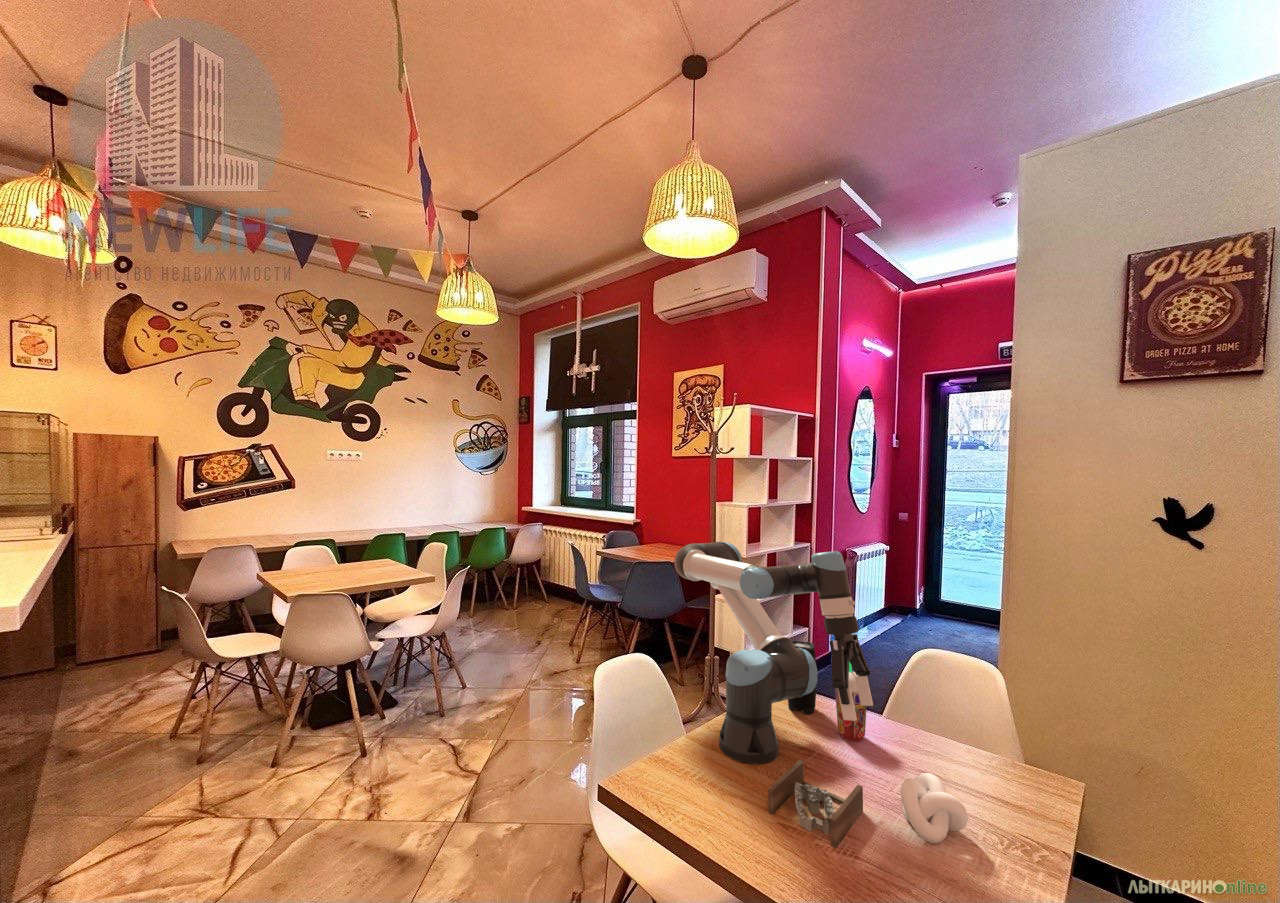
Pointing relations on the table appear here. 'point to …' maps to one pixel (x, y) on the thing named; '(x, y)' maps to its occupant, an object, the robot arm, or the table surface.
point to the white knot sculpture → (931, 807)
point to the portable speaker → (808, 700)
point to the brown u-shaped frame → (850, 805)
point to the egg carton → (813, 807)
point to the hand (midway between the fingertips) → (859, 712)
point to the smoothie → (855, 728)
